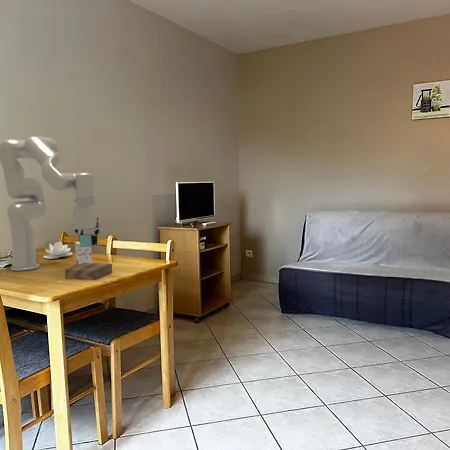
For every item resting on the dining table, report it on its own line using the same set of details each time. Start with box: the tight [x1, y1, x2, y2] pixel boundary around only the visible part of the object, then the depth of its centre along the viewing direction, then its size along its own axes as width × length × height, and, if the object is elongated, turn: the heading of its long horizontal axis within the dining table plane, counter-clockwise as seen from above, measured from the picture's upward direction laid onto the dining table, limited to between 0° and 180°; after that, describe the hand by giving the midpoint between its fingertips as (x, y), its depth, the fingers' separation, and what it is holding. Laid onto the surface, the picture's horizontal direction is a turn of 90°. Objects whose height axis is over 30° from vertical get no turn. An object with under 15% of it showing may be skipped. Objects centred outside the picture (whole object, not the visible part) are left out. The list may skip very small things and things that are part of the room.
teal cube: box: [78, 233, 98, 248], centre depth 176 cm, size 5×5×5 cm
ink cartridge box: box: [74, 241, 93, 266], centre depth 196 cm, size 9×5×15 cm, turn 41°
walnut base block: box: [64, 262, 113, 281], centre depth 177 cm, size 14×14×4 cm
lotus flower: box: [42, 240, 73, 260], centre depth 221 cm, size 14×15×9 cm
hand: (88, 244), depth 176 cm, fingers closed on teal cube, 5 cm apart
